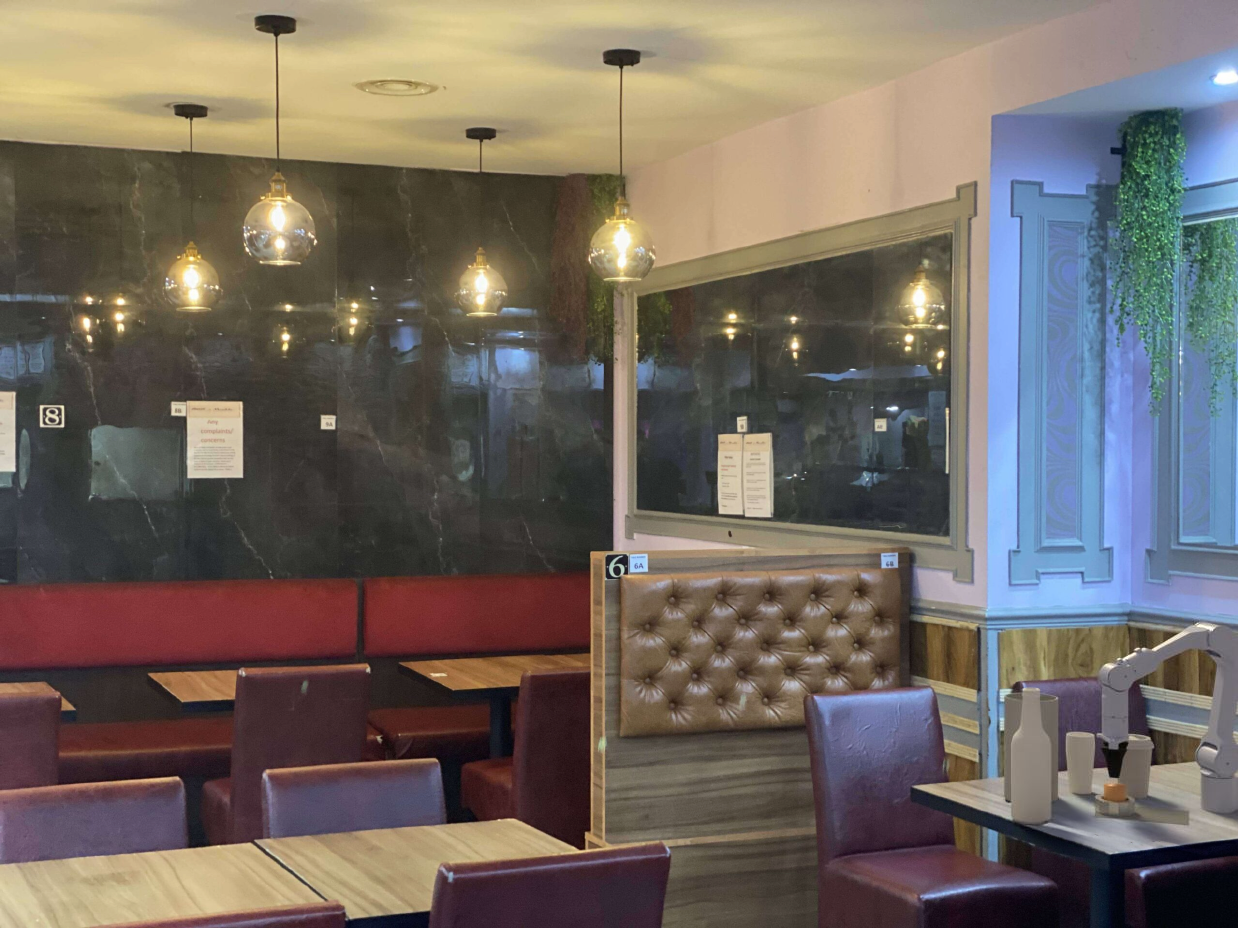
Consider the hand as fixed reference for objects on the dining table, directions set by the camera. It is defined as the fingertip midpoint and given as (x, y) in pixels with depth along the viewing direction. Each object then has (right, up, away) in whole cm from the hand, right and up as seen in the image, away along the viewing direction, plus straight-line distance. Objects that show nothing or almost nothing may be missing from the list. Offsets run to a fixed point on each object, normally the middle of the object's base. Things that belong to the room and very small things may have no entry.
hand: (1114, 774), depth 331 cm
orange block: (0, -8, 0) cm, 8 cm away
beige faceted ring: (0, -8, 0) cm, 8 cm away
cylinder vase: (-15, -10, +15) cm, 23 cm away
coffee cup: (+10, -10, +16) cm, 22 cm away
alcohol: (-21, -10, -4) cm, 23 cm away
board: (+5, -9, -2) cm, 11 cm away
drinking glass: (-1, -10, +20) cm, 22 cm away
